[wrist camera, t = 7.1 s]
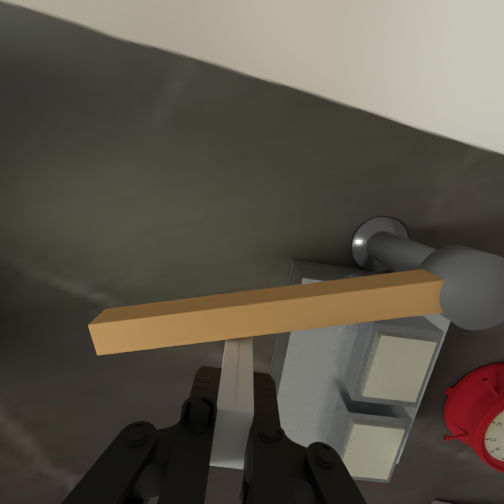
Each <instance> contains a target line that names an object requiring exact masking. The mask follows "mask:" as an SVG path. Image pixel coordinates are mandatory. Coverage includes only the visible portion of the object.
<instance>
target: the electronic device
mask: <svg viewBox="0 0 504 504" xmlns="http://www.w3.org/2000/svg"><path fill="white" fill-rule="evenodd" d="M431 504H450V503H446V502H441V501H436V500H433V501H432V503H431Z"/></svg>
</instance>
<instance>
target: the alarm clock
mask: <svg viewBox="0 0 504 504" xmlns="http://www.w3.org/2000/svg"><path fill="white" fill-rule="evenodd" d="M444 394H445V395H449V396H448V398H447V400H446V403H445V407H444V419H445V423H446V425H447V427H448V429H449V430H450V431H451V433H452V434H453V435H454V436H447V435H445V436H444V439H445V440H446V441H449V439H458V440H460V441H461V442H463V443H465V444H467V445H469V446H470V447H472V449H473V450H474V451H475V452H476V453H477V455H478V456H479V457H480V459H481V460H482V461H484V462H485V463H486V464H488V465H489V466H490V467H492V468H494V469H496V470H498V471H501V472H504V363H495V364H491V365H487V366H484V367H481V368H479V369H477V370H475V371H473V372H471V373H469V374H468V375H467V376H465V377H464V378H463V379H461V380H460V381H459V382H458V383H457V384H456V385H455V386H454V388H451V387H448V388H447V390H446V392H445V393H444Z"/></svg>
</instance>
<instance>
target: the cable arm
mask: <svg viewBox="0 0 504 504" xmlns="http://www.w3.org/2000/svg"><path fill="white" fill-rule="evenodd" d="M366 248H367V252H368V254H369V256H370V257H372V258H373V259H375V260H377V261H378V262H380V263H381V264H383V265H385V266H386V267H388V268H390V269H391V270H393V271H395V272H394V273H387V274H379V275H371V276H363V277H355V278H347V279H339V280H331V281H323V282H315V283H307V284H299V285H291V286H284V287H276V288H268V289H260V290H252V291H244V292H236V293H228V294H220V295H212V296H204V297H196V298H189V299H181V300H173V301H165V302H157V303H149V304H141V305H133V306H125V307H117V308H109V309H105V310H104V311H103V312H102V313H101V314H99V315H98V316H97V317H96V318H95V319H94V320H93V321H92V322H91V323H89V324H88V327H89V330H90V333H91V336H92V340H93V343H94V346H95V349H96V353H97V355H105V354H113V353H121V352H129V351H137V350H145V349H153V348H161V347H169V346H177V345H185V344H193V343H201V342H209V341H217V340H226V339H234V338H242V337H250V336H258V335H266V334H274V333H282V332H290V331H298V330H306V329H314V328H322V327H330V326H338V325H346V324H354V323H362V322H371V321H379V320H387V319H395V318H403V317H411V316H419V315H427V314H435V313H439V314H441V315H442V316H444V317H445V318H447V319H448V320H450V321H451V322H452V323H454V324H455V325H457V326H459V327H461V328H463V329H467V330H484V329H488V328H491V327H494V326H496V325H498V324H500V323H501V322H503V321H504V257H501V256H497V255H494V254H490V253H487V252H484V251H480V250H477V249H474V248H470V247H467V246H463V245H449V246H445V247H442V248H439V249H434V248H431V247H429V246H426V245H423V244H420V243H417V242H415V241H412V240H409V239H406V238H403V237H401V236H398V235H395V234H392V233H389V232H386V231H380V232H377V233H375V234H373V235H372V236H371V237H370V238H369V240H368V242H367V247H366Z"/></svg>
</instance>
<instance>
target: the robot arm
mask: <svg viewBox="0 0 504 504" xmlns="http://www.w3.org/2000/svg"><path fill="white" fill-rule="evenodd" d="M209 465H211V466H219V467H228V468H237V469H243V466H244V477H243V481H242V486H241V491H240V496H239V499H240V500H242V503H241V504H367V503H366V502H365V500H364V498H363V496H362V494H361V493H360V491H359V489H358V487H357V486H356V484H355V482H354V480H353V478H352V477H351V475H350V473H349V471H348V470H347V468H346V466H345V464H344V462H343V461H342V459H341V457H340V456H339V454H338V453H337V452H336V450H335V449H333V448H332V447H331V446H330V445H328V444H325V443H323V442H314V443H311V444H310V445H309V446H308V447H307V448H306V447H304V446H302V445H300V444H297V443H295V442H294V441H292V440H291V439H289V438H288V437H287V436H286V435H285V432H284V430H283V429H282V428H281V424H280V417H279V409H278V402H277V394H276V386H275V381H274V380H273V378H272V377H271V375H270V374H265V373H258V372H253V348H252V336H250V337H242V338H234V339H226V343H225V349H224V356H223V362H222V368H215V367H208V366H202V367H201V368H200V369H199V370H198V371H197V372H196V375H195V379H194V382H193V386H192V389H191V393H190V397H189V398H188V399H187V400H186V401H185V402H184V404H183V405H182V412H181V420H180V421H179V422H178V423H177V424H175V425H173V426H171V427H168V428H164V429H159V430H156V428H155V427H154V425H152V424H151V423H149V422H144V421H140V422H134V423H132V424H130V425H128V426H126V427H125V428H124V429H123V430H122V431H121V432H120V433H119V434H118V436H117V437H116V438H115V439H114V440H113V442H112V443H111V444H110V445H109V446H108V448H107V449H106V450H105V451H104V453H103V454H102V455H101V456H100V457H99V459H98V460H97V461H96V462H95V463H94V465H93V466H92V467H91V468H90V470H89V471H88V472H87V473H86V474H85V476H84V477H83V478H82V479H81V480H80V482H79V483H78V484H77V485H76V486H75V488H74V489H73V490H72V491H71V493H70V494H69V495H68V496H67V497H66V499H65V500H64V501H63V502H62V503H61V504H147V503H148V501H149V499H150V498H151V497H154V496H158V495H159V499H158V502H157V504H204V501H205V493H206V486H207V479H208V472H209Z"/></svg>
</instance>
